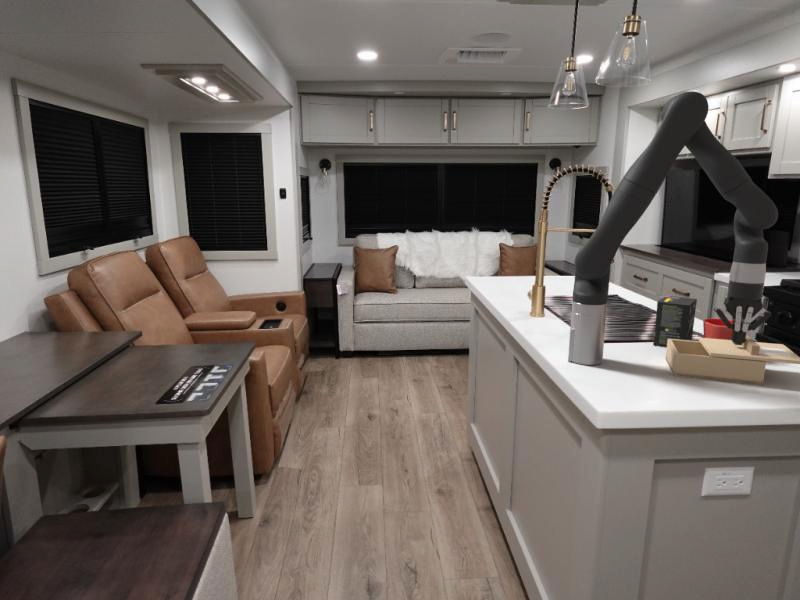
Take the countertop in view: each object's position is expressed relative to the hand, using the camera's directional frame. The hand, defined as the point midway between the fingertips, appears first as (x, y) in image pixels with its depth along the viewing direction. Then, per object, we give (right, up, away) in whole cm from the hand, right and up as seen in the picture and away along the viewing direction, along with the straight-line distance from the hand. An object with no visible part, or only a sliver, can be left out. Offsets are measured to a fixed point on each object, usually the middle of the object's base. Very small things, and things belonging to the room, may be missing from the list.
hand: (737, 344), depth 135 cm
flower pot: (+7, -5, +18) cm, 20 cm away
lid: (+2, -2, 0) cm, 3 cm away
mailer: (-5, -7, +3) cm, 10 cm away
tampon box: (-3, -3, +28) cm, 28 cm away
